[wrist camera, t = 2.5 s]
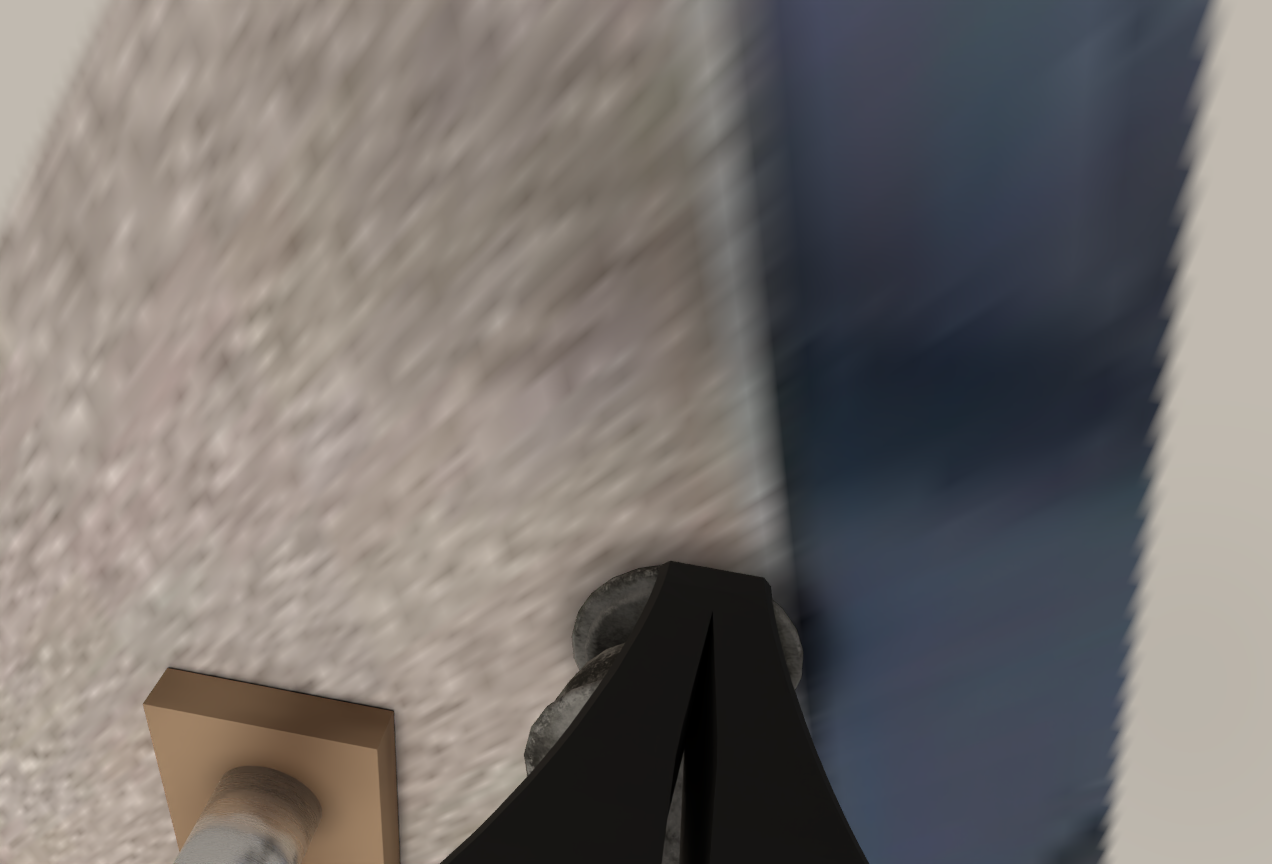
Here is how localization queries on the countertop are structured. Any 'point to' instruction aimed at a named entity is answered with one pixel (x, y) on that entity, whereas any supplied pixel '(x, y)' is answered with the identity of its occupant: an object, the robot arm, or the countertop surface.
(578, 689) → the grey stone tall piece
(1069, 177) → the countertop surface
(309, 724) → the pin board
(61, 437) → the countertop surface
